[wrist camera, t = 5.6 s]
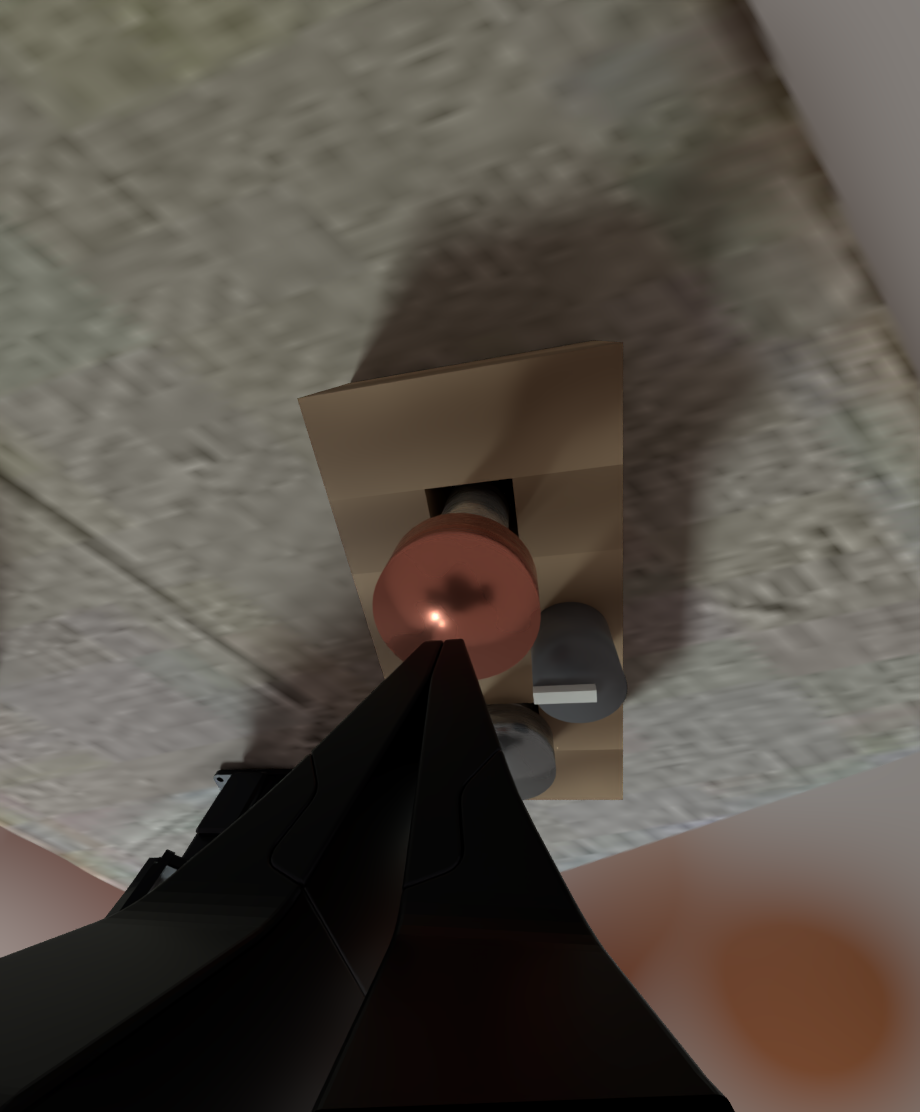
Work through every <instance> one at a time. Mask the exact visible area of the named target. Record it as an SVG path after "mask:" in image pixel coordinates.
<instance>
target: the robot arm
mask: <svg viewBox="0 0 920 1112" xmlns="http://www.w3.org/2000/svg"><path fill="white" fill-rule="evenodd" d="M214 780H215V782H216V784H217V785H218V787H219V789H220V790H221V791H220V793H219V794H218V796H217V798H216V799H215V801H214V802H213V804H212V805H211V807H210V809H209V810H208V812H207V813H206V815H205V816H204V818H203V819H202V821H201V823H200V824H199V826H198V827H197V829H196V833H197V834H196V836H195V837H194V839H193V841H192V842H191V844H190V845H189V847H188V848H187V850H186V852H185V853H184V855H183V856H182V857H179V856H177V855H175V852H173V851H170V850H168V849H167V850H166V851H165V853H164V854H163V856H162V857H159V858H149V859H148V860H147V862H146V863H145V865H144V866H143V868H142V869H141V870H140V872H139V873H138V875H137V876H136V878H135V879H134V880H133V882H132V883H131V885H130V886H129V887H128V889H127V890H126V891H125V893H124V894H123V895H122V897H121V898H120V899H119V900H118V902H117V903H116V904H115V906H114V907H113V908H112V910H111V911H110V912H109V913H108V915H107V916H106V917H105V918H104V919H102V920H100V921H97V922H95V923H92V924H89V925H87V926H84V927H81V928H79V929H76V930H73V931H71V932H68V933H66V934H63V935H60V936H58V937H55V938H52V939H49V940H47V941H44V942H42V943H39V944H36V945H34V946H31V947H28V948H25V949H23V950H20V951H17V952H15V953H12V954H10V955H7V956H4V957H1V958H0V1112H735V1111H734V1109H733V1108H732V1106H731V1104H730V1102H729V1101H728V1099H727V1098H726V1097H725V1096H724V1095H723V1094H722V1093H721V1092H720V1091H719V1090H718V1089H717V1087H716V1086H715V1085H714V1084H713V1083H712V1082H711V1081H710V1080H709V1079H708V1078H707V1077H706V1075H705V1074H704V1073H703V1072H702V1070H701V1069H700V1068H699V1067H698V1065H697V1064H696V1063H695V1062H694V1060H693V1059H692V1058H691V1057H690V1055H689V1054H688V1053H687V1052H686V1050H685V1049H684V1048H683V1047H682V1045H681V1044H680V1043H679V1042H678V1040H677V1039H676V1038H675V1037H674V1036H673V1034H672V1033H671V1032H670V1030H669V1029H668V1028H667V1027H666V1025H665V1024H664V1023H663V1022H662V1021H661V1019H660V1018H659V1017H658V1015H657V1014H656V1013H655V1012H654V1010H653V1009H652V1008H651V1007H650V1006H649V1004H648V1003H647V1002H646V1000H645V999H644V998H643V997H642V996H641V994H640V993H639V992H638V991H637V989H636V988H635V987H634V986H633V984H632V983H631V982H630V981H629V979H628V978H627V977H626V976H625V974H624V973H623V972H622V971H621V970H620V968H619V967H618V966H617V964H616V963H615V962H614V961H613V959H612V958H611V957H610V956H609V955H608V953H607V952H606V950H605V949H604V948H603V946H602V945H601V943H600V942H599V940H598V939H597V937H596V936H595V934H594V933H593V931H592V929H591V928H590V926H589V924H588V923H587V921H586V919H585V918H584V916H583V914H582V913H581V911H580V909H579V908H578V906H577V904H576V902H575V900H574V898H573V897H572V895H571V893H570V891H569V889H568V887H567V886H566V883H565V882H564V880H563V878H562V876H561V874H560V872H559V870H558V868H557V867H556V865H555V863H554V861H553V859H552V857H551V855H550V853H549V852H548V850H547V848H546V846H545V844H544V842H543V840H542V838H541V837H540V835H539V833H538V831H537V829H536V827H535V825H534V823H533V821H532V819H531V817H530V815H529V813H528V811H527V809H526V807H525V805H524V803H523V801H522V799H521V797H520V795H519V792H518V790H517V787H516V785H515V782H514V780H513V777H512V775H511V772H510V770H509V767H508V764H507V761H506V758H505V755H504V753H503V752H502V747H501V745H500V742H499V739H498V736H497V733H496V730H495V727H494V725H493V722H492V719H491V716H490V713H489V710H488V707H487V705H486V702H485V699H484V696H483V693H482V690H481V687H480V685H479V682H478V679H477V676H476V673H475V670H474V667H473V665H472V662H471V659H470V656H469V653H468V650H467V647H466V645H465V642H464V640H463V639H448V640H445V641H444V642H443V641H442V640H432V641H425V642H423V643H422V644H421V645H420V646H419V647H418V648H417V649H416V650H415V651H414V652H413V653H412V654H411V655H410V656H409V657H407V658H406V659H405V660H404V661H403V662H402V663H401V664H400V665H399V666H398V667H397V668H396V669H395V670H394V671H393V672H392V673H391V674H390V675H389V676H388V677H387V678H386V679H385V680H384V681H383V682H382V683H381V684H380V685H379V686H378V687H377V688H376V689H375V690H374V691H373V692H372V693H371V694H370V695H369V696H368V697H367V698H366V699H365V700H364V701H363V702H362V703H360V704H359V705H358V706H357V707H356V708H355V709H354V710H353V711H352V712H351V713H350V714H349V715H348V716H347V717H346V718H345V719H344V720H343V721H342V722H341V723H340V724H339V725H338V726H337V727H336V728H335V729H334V730H333V731H332V732H331V733H330V734H329V735H328V736H327V737H326V738H325V739H324V740H323V741H322V742H321V743H320V744H319V745H318V746H317V747H316V748H315V749H313V750H312V755H311V754H309V755H307V756H306V757H305V758H304V759H303V760H302V761H301V762H300V763H299V764H298V765H297V766H296V767H295V768H294V769H261V770H219V771H217V773H216V774H215V775H214Z"/></svg>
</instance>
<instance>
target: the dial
mask: <svg viewBox="0 0 920 1112" xmlns="http://www.w3.org/2000/svg"><path fill="white" fill-rule="evenodd" d="M531 659H532V678H533V698H534V704H538V705H539V706H540V708H541V709H542V710H543V711H544V712H546V713H547V714H548V715H550V716H552V717H554V718H556V719H558V720H562V721H565V722H570V723H588V722H594V721H598V720H600V719H603V718H605V717H607V716H609V715H611V714H612V713H614V712H615V711H616V710H617V709H618V708H619V707H620V706H621V705H622V703H623V702H624V700H625V697H626V694H627V682H626V679H625V675H624V672H623V669H622V666H621V663H620V660H619V657H618V654H617V651H616V648H615V645H614V642H613V638H612V635H611V632H610V629H609V626H608V623H607V621H606V619H605V618H604V616H603V615H602V614H601V613H600V612H599V611H598V610H596V609H595V608H593V607H591V606H589V605H587V604H583V603H579V602H563V603H558V604H555V605H552V606H550V607H548V608H546V609H545V610H543V611H542V612H541V621H540V628H539V632H538V635H537V638H536V640H535V642H534V644H533V646H532V647H531Z"/></svg>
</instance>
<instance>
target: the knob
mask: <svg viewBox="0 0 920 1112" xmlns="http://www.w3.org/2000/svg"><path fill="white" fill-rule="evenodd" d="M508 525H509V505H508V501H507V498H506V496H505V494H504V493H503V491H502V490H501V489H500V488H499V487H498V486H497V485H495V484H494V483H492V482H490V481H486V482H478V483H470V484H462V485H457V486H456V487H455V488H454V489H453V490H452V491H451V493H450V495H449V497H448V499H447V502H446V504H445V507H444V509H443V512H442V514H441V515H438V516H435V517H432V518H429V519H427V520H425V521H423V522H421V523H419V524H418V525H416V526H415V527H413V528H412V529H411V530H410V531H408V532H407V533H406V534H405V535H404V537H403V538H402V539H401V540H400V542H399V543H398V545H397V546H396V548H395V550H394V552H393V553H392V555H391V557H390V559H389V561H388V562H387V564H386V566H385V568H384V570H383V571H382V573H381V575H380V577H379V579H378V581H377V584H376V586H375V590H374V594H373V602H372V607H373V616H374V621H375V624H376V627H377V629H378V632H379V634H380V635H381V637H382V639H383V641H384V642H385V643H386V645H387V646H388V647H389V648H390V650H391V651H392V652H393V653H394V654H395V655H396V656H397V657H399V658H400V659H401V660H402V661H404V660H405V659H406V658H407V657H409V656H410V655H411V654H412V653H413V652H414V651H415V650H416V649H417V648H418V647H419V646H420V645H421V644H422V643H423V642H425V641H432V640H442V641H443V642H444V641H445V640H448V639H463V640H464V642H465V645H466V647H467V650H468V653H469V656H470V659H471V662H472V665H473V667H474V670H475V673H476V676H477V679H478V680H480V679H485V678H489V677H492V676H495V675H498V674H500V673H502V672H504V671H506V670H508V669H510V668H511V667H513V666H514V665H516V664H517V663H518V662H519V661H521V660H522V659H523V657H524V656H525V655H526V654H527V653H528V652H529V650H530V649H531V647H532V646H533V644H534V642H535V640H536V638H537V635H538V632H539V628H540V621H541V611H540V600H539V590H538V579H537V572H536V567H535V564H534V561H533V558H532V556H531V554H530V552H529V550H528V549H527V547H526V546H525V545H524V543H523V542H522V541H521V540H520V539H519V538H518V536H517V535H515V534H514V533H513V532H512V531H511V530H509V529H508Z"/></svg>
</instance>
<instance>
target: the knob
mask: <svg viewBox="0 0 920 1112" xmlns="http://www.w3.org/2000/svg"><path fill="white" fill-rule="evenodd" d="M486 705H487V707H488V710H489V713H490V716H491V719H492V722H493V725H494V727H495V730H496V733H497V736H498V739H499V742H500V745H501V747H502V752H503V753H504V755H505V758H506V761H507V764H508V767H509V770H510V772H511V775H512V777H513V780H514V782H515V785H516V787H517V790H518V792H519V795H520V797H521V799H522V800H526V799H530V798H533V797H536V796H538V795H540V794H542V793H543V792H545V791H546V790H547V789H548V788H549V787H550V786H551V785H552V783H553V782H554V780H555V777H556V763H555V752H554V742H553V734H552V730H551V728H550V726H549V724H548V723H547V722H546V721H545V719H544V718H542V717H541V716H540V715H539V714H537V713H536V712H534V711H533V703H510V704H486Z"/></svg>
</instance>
